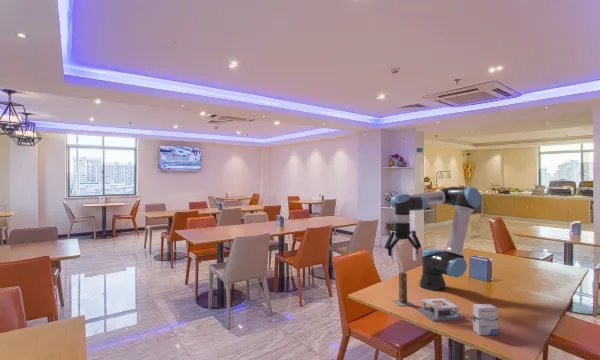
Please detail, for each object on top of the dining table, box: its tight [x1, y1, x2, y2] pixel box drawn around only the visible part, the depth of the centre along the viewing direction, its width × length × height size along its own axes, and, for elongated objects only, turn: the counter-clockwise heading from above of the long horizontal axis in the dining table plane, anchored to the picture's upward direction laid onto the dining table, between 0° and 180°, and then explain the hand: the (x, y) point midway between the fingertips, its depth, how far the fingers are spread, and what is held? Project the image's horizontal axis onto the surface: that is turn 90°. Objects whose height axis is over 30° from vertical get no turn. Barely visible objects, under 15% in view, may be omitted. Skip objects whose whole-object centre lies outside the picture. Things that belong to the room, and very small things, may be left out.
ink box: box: [472, 303, 499, 336], centre depth 140 cm, size 8×5×12 cm, turn 92°
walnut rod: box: [398, 271, 408, 303], centre depth 175 cm, size 3×3×16 cm
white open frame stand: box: [417, 297, 465, 322], centre depth 160 cm, size 16×14×6 cm
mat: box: [392, 299, 414, 307], centre depth 175 cm, size 8×8×1 cm
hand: (403, 261), depth 175 cm, fingers open, 13 cm apart
